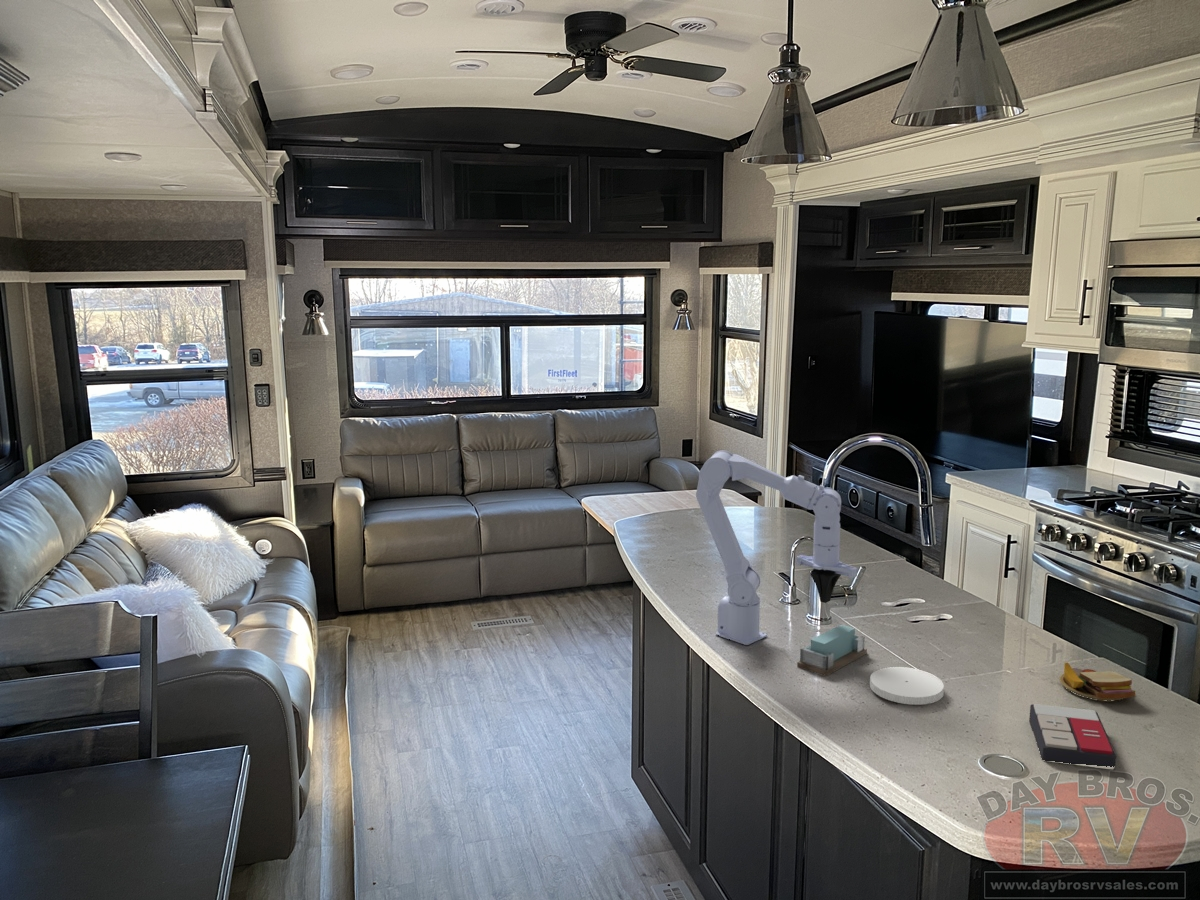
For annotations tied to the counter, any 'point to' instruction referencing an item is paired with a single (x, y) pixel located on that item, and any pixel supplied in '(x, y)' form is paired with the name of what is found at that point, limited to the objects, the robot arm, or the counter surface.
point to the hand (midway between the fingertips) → (825, 601)
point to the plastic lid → (906, 685)
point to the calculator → (1071, 735)
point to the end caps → (826, 660)
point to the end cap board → (834, 663)
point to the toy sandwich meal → (1096, 683)
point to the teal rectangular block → (835, 641)
